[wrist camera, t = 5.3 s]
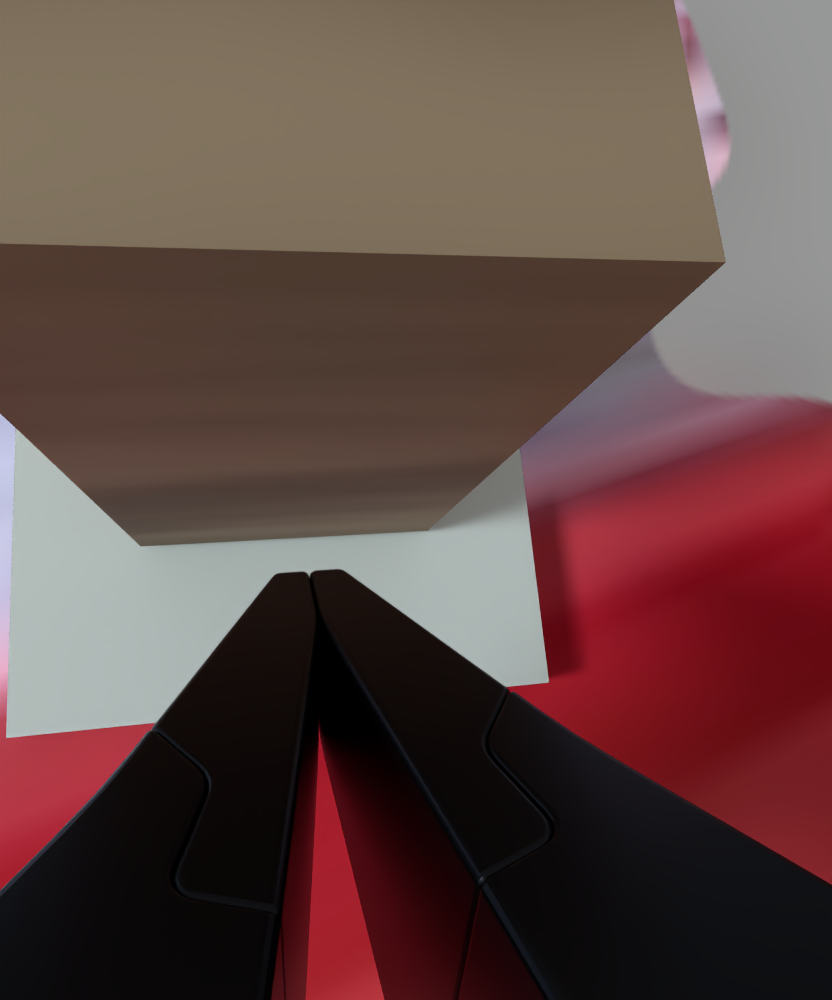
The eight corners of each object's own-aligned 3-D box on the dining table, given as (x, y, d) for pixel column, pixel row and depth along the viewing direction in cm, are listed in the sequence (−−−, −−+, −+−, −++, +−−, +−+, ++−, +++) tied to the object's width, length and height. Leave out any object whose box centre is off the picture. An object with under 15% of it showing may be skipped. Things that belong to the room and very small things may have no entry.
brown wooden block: (427, 530, 16) (726, 262, 5) (140, 546, 15) (-184, 239, 4) (407, 322, 17) (627, -239, 7) (139, 320, 16) (-126, -373, 5)
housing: (533, 681, 17) (666, 687, 11) (23, 733, 15) (-136, 773, 9) (468, 145, 20) (548, -65, 14) (39, 120, 18) (-72, -142, 12)
